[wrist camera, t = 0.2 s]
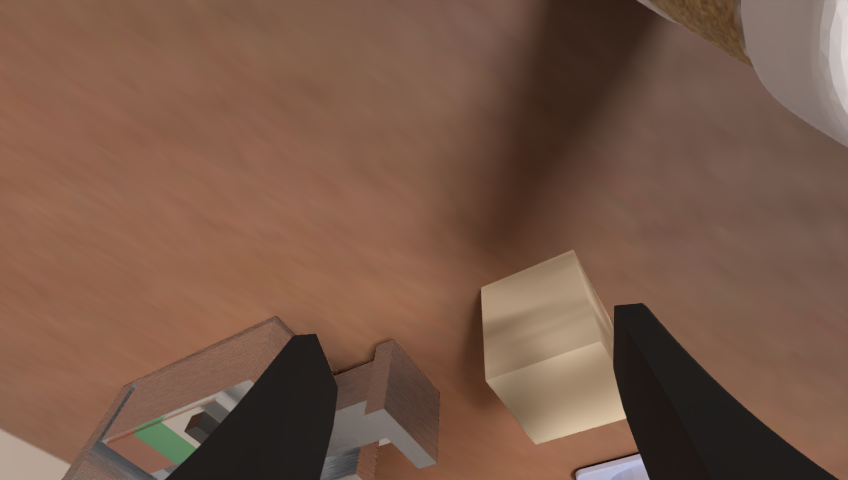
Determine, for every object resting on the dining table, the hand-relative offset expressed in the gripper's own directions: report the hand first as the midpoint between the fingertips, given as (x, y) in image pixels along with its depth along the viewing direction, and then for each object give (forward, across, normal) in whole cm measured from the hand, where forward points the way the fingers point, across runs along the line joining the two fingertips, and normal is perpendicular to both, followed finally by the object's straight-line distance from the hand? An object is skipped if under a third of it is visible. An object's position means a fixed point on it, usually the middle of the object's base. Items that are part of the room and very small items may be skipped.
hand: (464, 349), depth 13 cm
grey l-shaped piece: (+9, +8, +10) cm, 16 cm away
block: (+10, -3, +8) cm, 13 cm away
